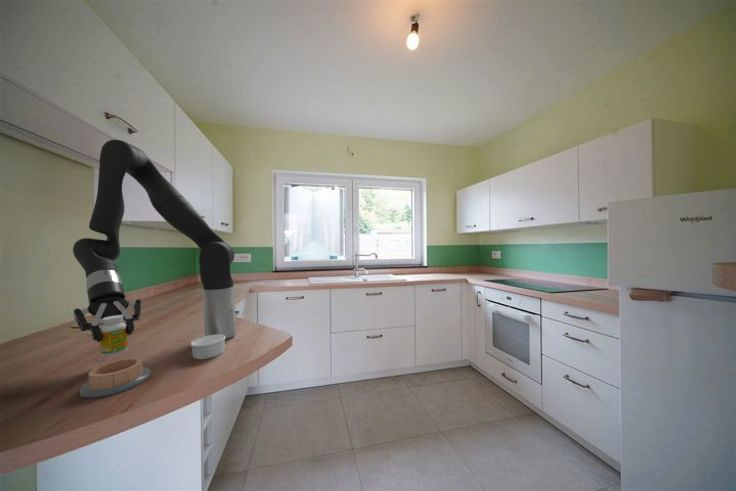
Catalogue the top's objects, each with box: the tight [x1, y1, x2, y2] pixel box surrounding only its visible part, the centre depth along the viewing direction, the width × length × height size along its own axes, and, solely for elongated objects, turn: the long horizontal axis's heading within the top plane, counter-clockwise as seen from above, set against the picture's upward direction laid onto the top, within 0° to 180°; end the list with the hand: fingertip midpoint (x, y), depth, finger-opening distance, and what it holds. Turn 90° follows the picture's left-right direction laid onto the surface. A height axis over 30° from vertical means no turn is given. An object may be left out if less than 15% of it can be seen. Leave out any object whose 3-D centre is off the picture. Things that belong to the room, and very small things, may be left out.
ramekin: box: [189, 335, 226, 360], centre depth 77 cm, size 9×9×4 cm
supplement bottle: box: [99, 315, 129, 357], centre depth 71 cm, size 5×5×10 cm
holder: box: [79, 357, 151, 399], centre depth 61 cm, size 12×12×4 cm
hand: (115, 336), depth 70 cm, fingers closed on supplement bottle, 5 cm apart
